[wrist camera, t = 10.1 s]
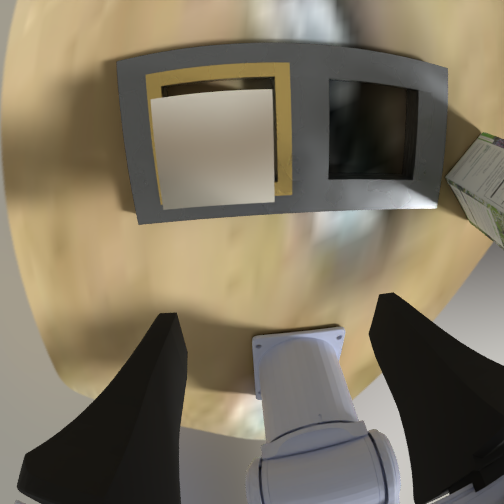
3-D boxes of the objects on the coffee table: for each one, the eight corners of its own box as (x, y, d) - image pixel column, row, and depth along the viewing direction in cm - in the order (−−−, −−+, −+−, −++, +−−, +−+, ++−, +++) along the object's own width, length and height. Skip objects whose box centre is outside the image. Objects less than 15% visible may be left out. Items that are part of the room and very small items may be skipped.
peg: (256, 157, 18) (274, 201, 11) (190, 162, 18) (163, 209, 11) (254, 93, 16) (272, 89, 9) (185, 98, 16) (150, 99, 9)
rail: (425, 200, 20) (438, 209, 18) (144, 215, 19) (137, 226, 17) (434, 68, 15) (449, 68, 13) (125, 63, 14) (115, 61, 13)
